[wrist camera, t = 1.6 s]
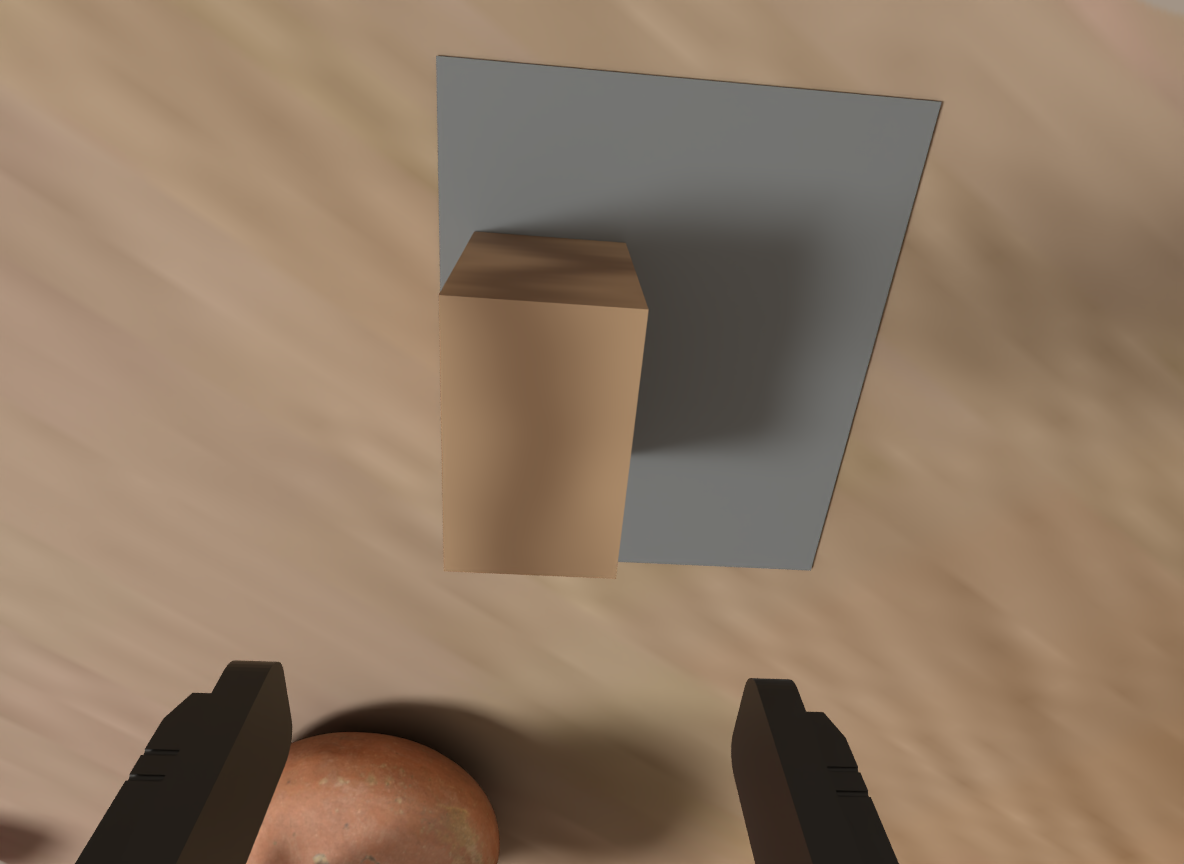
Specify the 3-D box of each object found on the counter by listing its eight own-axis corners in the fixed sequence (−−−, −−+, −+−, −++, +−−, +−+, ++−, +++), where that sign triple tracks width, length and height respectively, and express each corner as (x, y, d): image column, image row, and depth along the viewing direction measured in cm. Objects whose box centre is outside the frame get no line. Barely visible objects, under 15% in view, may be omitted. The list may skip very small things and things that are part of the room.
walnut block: (625, 242, 26) (648, 309, 19) (603, 456, 30) (615, 578, 23) (474, 231, 25) (438, 295, 18) (473, 449, 29) (443, 571, 22)
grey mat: (940, 101, 24) (942, 101, 24) (810, 568, 33) (810, 570, 33) (436, 55, 23) (435, 55, 23) (445, 552, 32) (445, 554, 32)
